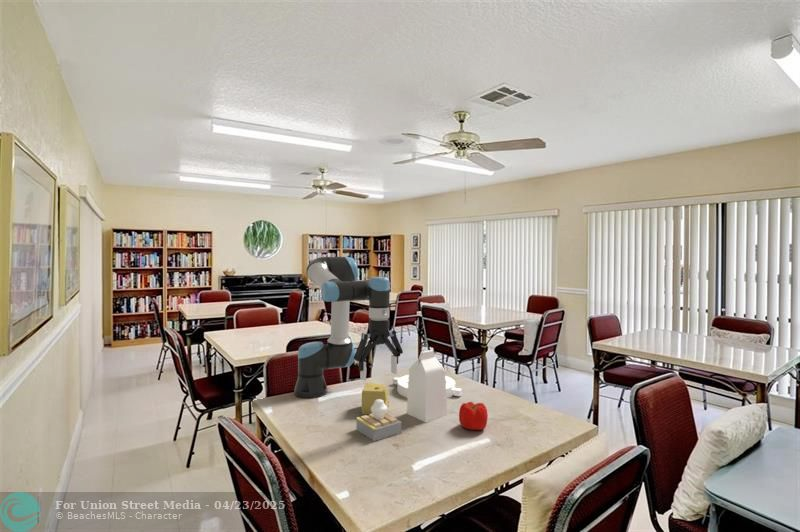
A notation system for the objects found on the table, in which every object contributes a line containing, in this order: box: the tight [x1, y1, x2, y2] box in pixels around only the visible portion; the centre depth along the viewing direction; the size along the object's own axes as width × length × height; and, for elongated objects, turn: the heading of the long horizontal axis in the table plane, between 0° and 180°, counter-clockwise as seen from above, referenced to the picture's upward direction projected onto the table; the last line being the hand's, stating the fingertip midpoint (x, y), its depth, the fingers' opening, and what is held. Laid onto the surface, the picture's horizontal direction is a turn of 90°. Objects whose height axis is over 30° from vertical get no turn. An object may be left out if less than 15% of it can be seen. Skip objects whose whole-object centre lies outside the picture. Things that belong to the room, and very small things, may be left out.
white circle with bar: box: [392, 374, 463, 399], centre depth 194 cm, size 28×28×5 cm
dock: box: [356, 412, 402, 442], centre depth 148 cm, size 12×12×5 cm
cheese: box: [361, 382, 390, 415], centre depth 168 cm, size 10×11×10 cm
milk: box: [406, 349, 448, 423], centre depth 164 cm, size 12×12×26 cm
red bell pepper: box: [458, 401, 489, 431], centre depth 152 cm, size 11×12×9 cm
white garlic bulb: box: [371, 399, 388, 419], centre depth 148 cm, size 6×6×7 cm
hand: (378, 376), depth 147 cm, fingers open, 13 cm apart
